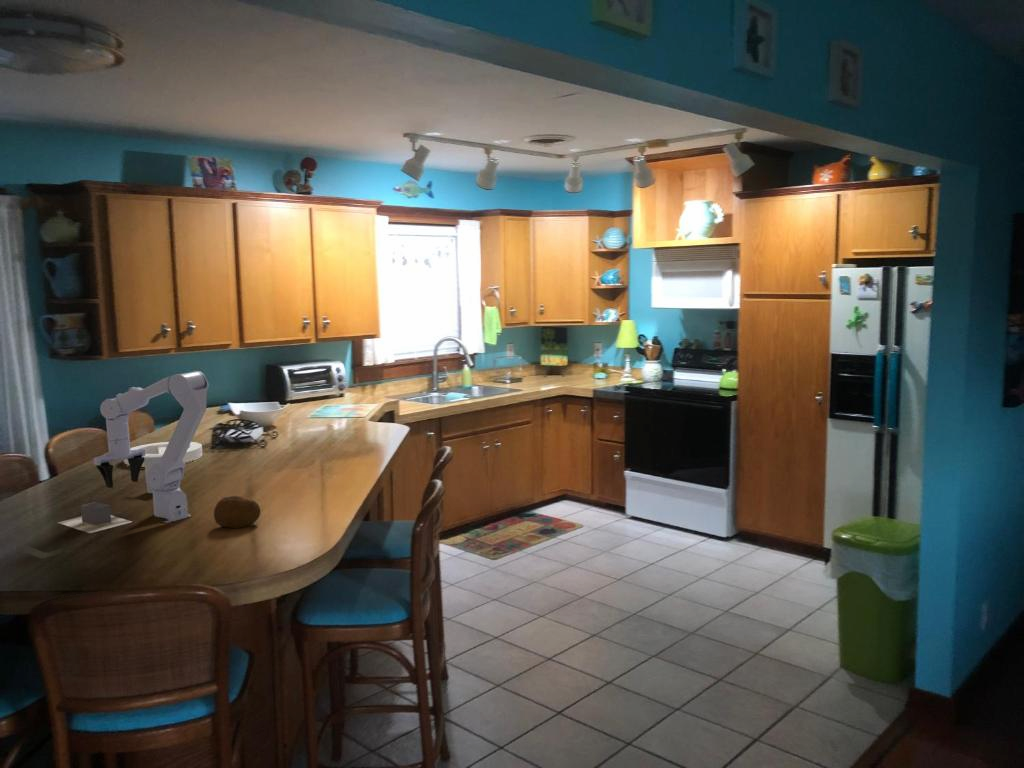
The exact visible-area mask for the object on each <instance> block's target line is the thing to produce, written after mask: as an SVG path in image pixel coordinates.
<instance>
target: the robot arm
mask: <svg viewBox="0 0 1024 768" xmlns="http://www.w3.org/2000/svg"><path fill="white" fill-rule="evenodd" d="M209 387H210V383H209V382H208V379H207V377H206V375H205V374H204V373H203V372H201V371H200V370H194V371H193V370H192V371H191V372H185V373H176V374H173V375H170V376H167V377H164V378H162V379H160V380H159V381H157V382H155V383H152V384H150V385H148V386H147V387H145V388H142V387H139V386H137V387H135V386H133V387H129V388H128V391H126V392H124V393H118V394H116V395H115V397H114V398H113V397H112V398H106V399H105V400H103V401H102V402H101V404H100V407H99V408H100V409H99V410H100V414H101V416H102V417H103V418H105V424H106V425H105V426H106V436H107V447H108V448H107V449H108V454H104V455H101V456H97V457H93V465H95V467H96V468H97V470H98V471H99V473H100V474H101V477H102V479H103V480H104V483H105V486H106V488H109V489H112V488H113V487H114V481H113V471H114V465H113V464H111V463H114V462H120V461H122V460H123V461H124V459H128V462H129V466H130V467H129V471H130V479H131V482H134V483H138V481H139V476H140V472H141V469H142V468H141V466H142V464H143V462H144V457H142V456H145V449H137V450H130V448H131V440H130V439H131V438H130V428H129V420H130V414H131V413H133V412H135V411H137V410H139V409H141V408H143V407H145V406H148V404H149V402H150V400H151V399H153V398H155V397H158V396H160V395H162V394H164V393H167V394H172V396H173V397H174V399H175V400H176V401H177V402H178V403H179V405H180V406H181V407H182V408H183V411H182V413H181V416H180V417H179V419H178V422H177V423H176V426H175V428H174V429H173V433H172V435H171V437H170V439H169V441H168V442H169V443H168V445H167V447H166V450H165V452H164V454H163V456H162V457H161V458H160V459H158V460H157V461H156V462H155V463H154V466H153V467H152V468H151V469H150V470H148V472H147V473H146V474H145V482H146V486H147V485H148V486H149V487H150V488H151V490H152V491H153V493H152V503H153V512H154V513H153V514H154V517H156V518H162V519H163V518H164V519H163V520H160V521H159V523H165V524H169V523H172V521H173V522H176V521H179V520H183V519H187V518H189V517H191V516H192V515H191V514H189V508H188V497H187V493H185V492H184V491H183V490H181V486H180V485H181V481H182V480H183V479H184V475H185V467H186V465H187V464H186V463H185V462H184V461H183V458H184V456H185V454H186V452H187V450H188V447H189V445H190V443H191V442H193V439H194V436H195V434H196V432H197V430H198V427H199V425H200V423H201V421H202V419H203V417H204V416H205V413H206V411H207V399H208V398H207V397H208V396H207V392H208V390H209Z"/></svg>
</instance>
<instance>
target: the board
mask: <svg viewBox="0 0 1024 768" xmlns="http://www.w3.org/2000/svg"><path fill="white" fill-rule="evenodd" d="M130 523H133V521H132V520H128V519H125V518H121V517H118V516H115V515H111V523H108V524H104V525H100V526H96V527H94V526H91V525H88V524H85V523H82V515H81V516H77V517H75V518H70V519H65V520H62V521H58V522H57V524H60V525H64V526H65V527H69V528H73V529H75V530H78V531H81V532H84V533H87V534H92V533H96V532H100V531H103V530H107V529H111V528H115V527H118V526H122V525H126V524H127V525H128V524H130Z"/></svg>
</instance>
